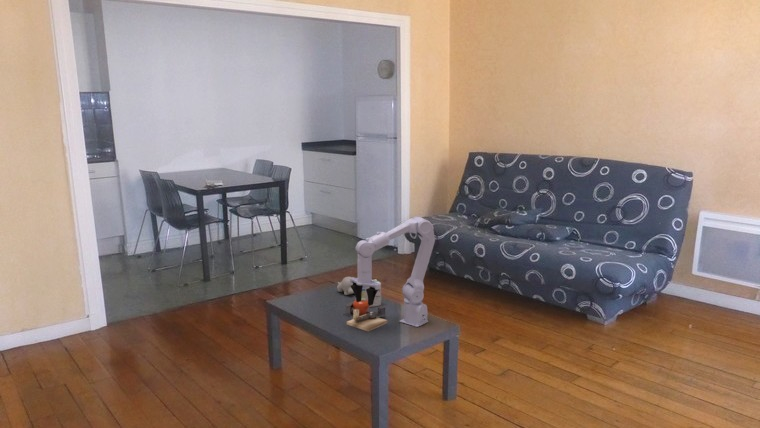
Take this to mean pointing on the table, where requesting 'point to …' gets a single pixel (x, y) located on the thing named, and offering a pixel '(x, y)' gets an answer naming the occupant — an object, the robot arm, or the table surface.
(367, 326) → the board
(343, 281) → the round bodied animal figurine
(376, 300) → the light bulb box
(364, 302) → the tomato
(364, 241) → the robot arm
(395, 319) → the table surface
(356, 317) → the lever
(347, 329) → the table surface
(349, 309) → the anvil
